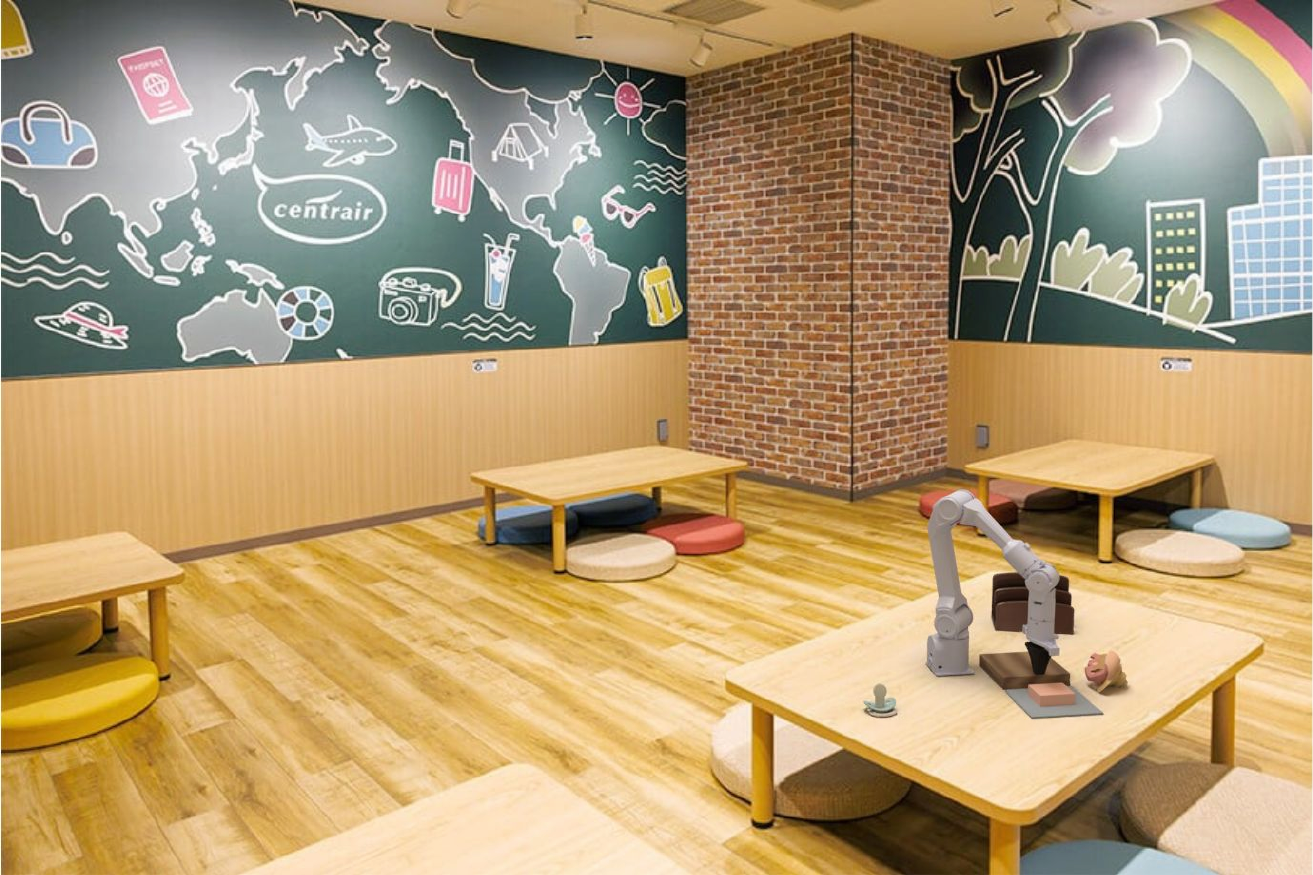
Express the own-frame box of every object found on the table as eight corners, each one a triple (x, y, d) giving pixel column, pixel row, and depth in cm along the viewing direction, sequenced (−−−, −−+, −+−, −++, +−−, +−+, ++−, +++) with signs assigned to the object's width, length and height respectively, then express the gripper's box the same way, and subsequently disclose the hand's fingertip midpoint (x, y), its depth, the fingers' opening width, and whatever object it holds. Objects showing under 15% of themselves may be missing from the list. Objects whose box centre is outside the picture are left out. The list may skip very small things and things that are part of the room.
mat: (1031, 718, 211) (1031, 717, 211) (1004, 691, 225) (1004, 689, 225) (1103, 714, 212) (1103, 712, 212) (1071, 687, 226) (1072, 685, 226)
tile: (1028, 684, 221) (1027, 694, 222) (1040, 695, 215) (1039, 706, 216) (1062, 682, 222) (1061, 692, 222) (1075, 693, 216) (1074, 704, 216)
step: (1002, 689, 226) (1003, 677, 225) (979, 665, 240) (979, 654, 239) (1069, 685, 227) (1070, 673, 226) (1042, 662, 241) (1042, 650, 240)
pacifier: (902, 717, 214) (891, 704, 220) (903, 690, 213) (892, 679, 219) (870, 720, 213) (860, 707, 219) (871, 694, 212) (861, 682, 218)
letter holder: (991, 618, 271) (992, 569, 269) (1067, 622, 267) (1069, 572, 265) (994, 631, 262) (996, 581, 259) (1073, 635, 257) (1076, 584, 255)
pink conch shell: (1120, 680, 230) (1143, 664, 223) (1107, 712, 225) (1131, 696, 217) (1085, 656, 232) (1107, 640, 225) (1071, 687, 227) (1094, 671, 219)
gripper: (1073, 627, 215) (1071, 685, 218) (1043, 605, 230) (1041, 660, 232) (1042, 629, 215) (1040, 687, 217) (1014, 607, 229) (1012, 661, 232)
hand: (1039, 673), depth 225 cm, fingers closed
